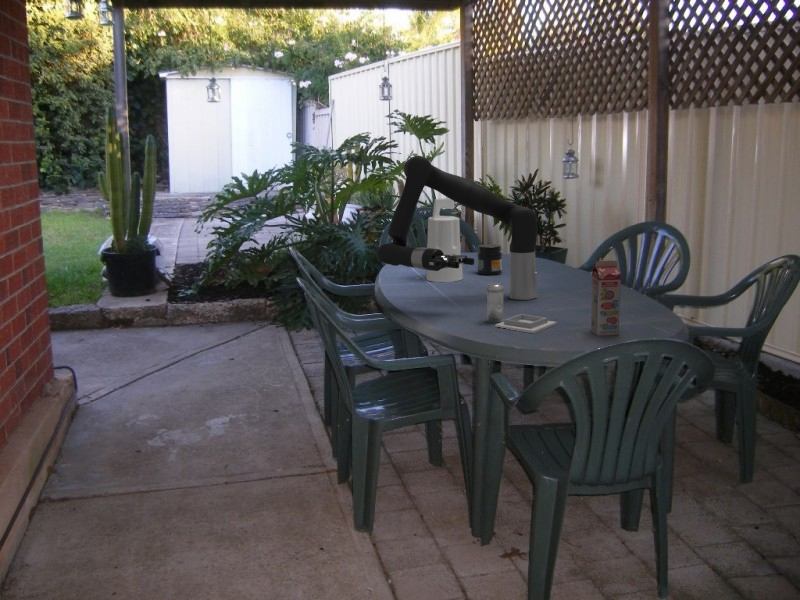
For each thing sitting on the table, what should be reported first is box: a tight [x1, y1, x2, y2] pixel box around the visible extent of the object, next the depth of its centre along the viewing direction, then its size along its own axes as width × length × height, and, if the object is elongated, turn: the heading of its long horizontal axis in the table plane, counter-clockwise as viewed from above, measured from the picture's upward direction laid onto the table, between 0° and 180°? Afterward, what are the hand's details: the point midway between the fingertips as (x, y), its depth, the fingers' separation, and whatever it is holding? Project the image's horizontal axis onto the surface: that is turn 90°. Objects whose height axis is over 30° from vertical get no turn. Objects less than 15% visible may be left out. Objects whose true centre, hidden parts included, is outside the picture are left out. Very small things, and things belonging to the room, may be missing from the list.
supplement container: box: [476, 243, 503, 276], centre depth 353 cm, size 10×10×12 cm
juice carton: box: [590, 260, 622, 337], centre depth 250 cm, size 7×7×22 cm
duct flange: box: [494, 313, 557, 334], centre depth 262 cm, size 14×14×2 cm
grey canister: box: [486, 282, 505, 323], centre depth 269 cm, size 6×6×12 cm
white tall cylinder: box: [426, 197, 464, 283], centre depth 342 cm, size 15×15×33 cm
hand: (466, 263), depth 273 cm, fingers open, 8 cm apart
